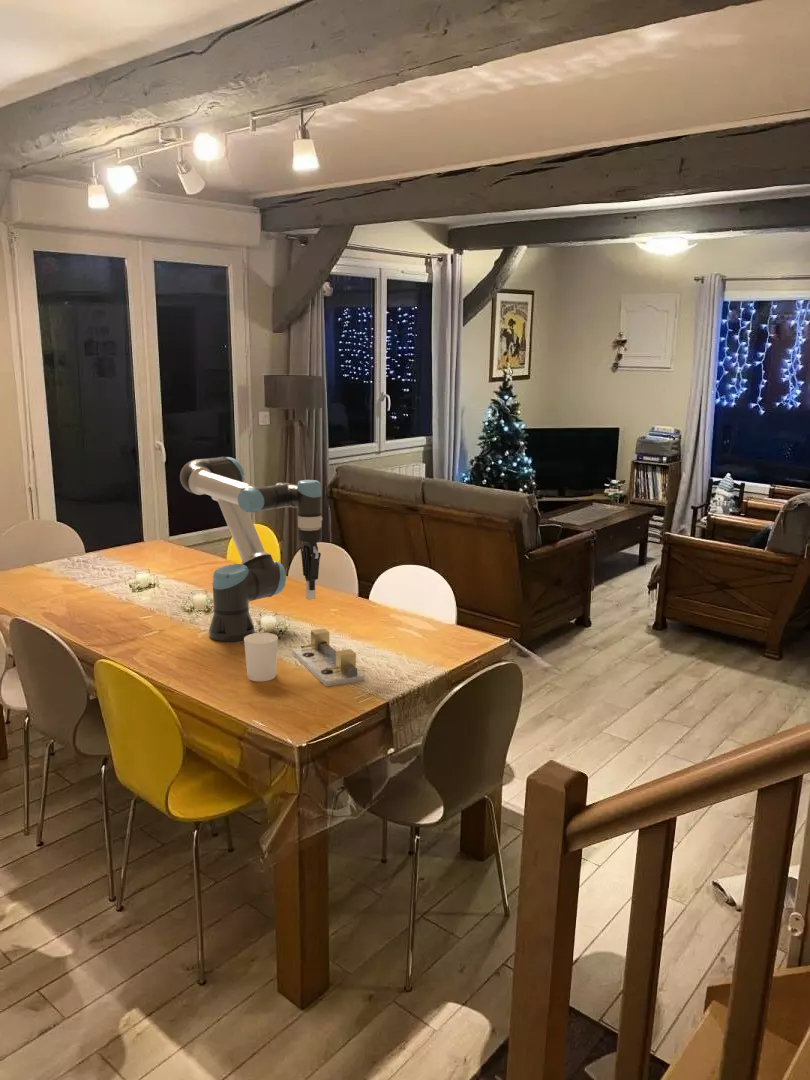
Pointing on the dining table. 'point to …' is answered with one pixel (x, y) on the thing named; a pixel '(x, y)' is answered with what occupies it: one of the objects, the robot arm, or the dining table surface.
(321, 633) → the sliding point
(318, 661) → the bolt plate
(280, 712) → the dining table surface
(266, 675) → the candle holder
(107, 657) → the dining table surface
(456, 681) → the dining table surface
